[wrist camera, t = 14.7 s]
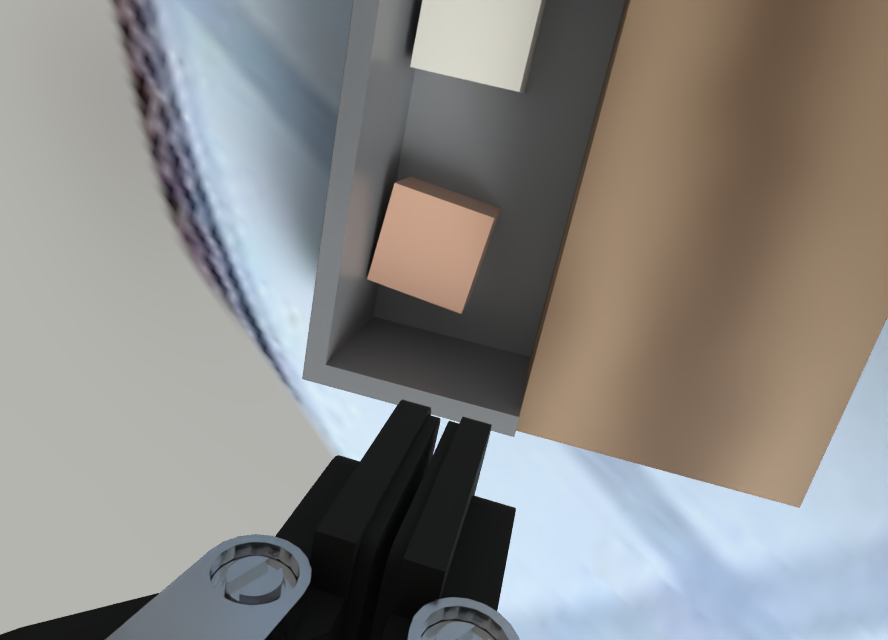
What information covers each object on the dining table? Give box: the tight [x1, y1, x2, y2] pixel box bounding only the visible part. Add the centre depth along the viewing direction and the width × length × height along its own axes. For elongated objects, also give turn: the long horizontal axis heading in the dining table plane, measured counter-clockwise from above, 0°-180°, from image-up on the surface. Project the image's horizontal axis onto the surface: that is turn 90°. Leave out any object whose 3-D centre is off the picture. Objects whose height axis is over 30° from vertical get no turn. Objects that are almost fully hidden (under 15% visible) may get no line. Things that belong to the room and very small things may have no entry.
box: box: [302, 0, 625, 437], centre depth 23 cm, size 8×18×6 cm, turn 169°
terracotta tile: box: [367, 176, 501, 314], centre depth 26 cm, size 4×4×2 cm
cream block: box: [410, 0, 547, 94], centre depth 23 cm, size 4×4×2 cm
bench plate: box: [516, 0, 888, 508], centre depth 23 cm, size 10×18×6 cm, turn 169°
